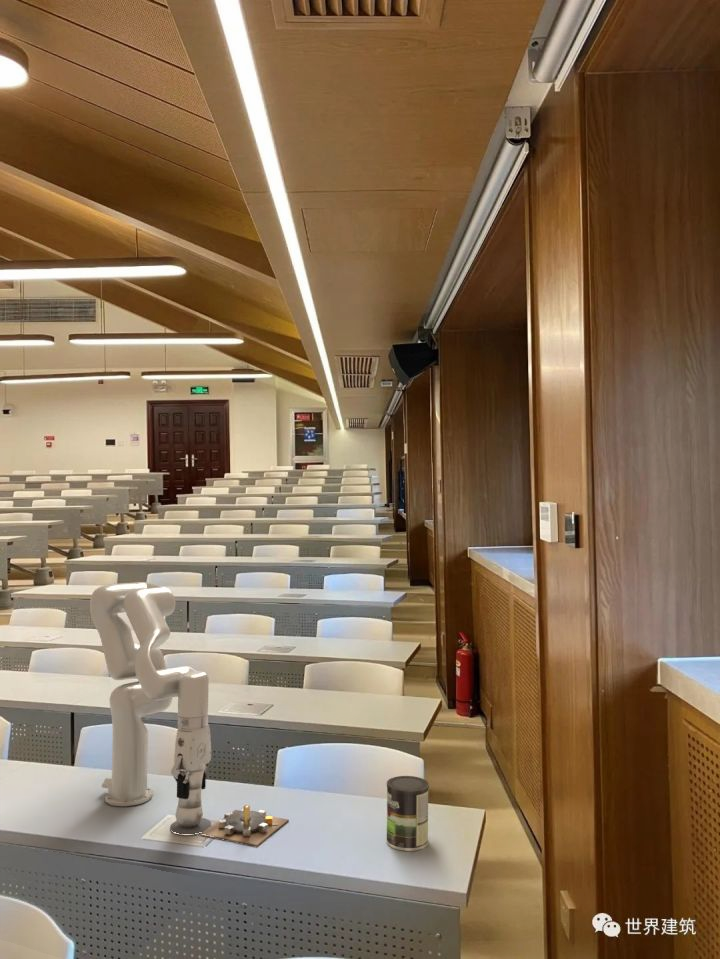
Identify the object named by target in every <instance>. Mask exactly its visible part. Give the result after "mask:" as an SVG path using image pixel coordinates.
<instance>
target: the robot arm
mask: <svg viewBox="0 0 720 959" xmlns="http://www.w3.org/2000/svg"><path fill="white" fill-rule="evenodd" d="M175 609H176V598H175V595H174V594H173V592H172V591H171V590H170V589H169V588H168V587H166V586H163V585H159V584H155V583H151V582H145V581H138V582H137V581H136V582H121V583H111V584H105V585H102V586H101V585H100V586H98V587H97V588H96V589H94V591H93V592H92V593H91V596H90V600H89V612H90V616H91V620H92V622H93V624H94V627H95V629H96V630H97V632H98V634H99V637H100V640H101V641H100V642H101V646H102V651H103V654H104V660H105V664H106V667H107V672H108V674H109V676H110V677H111V679H112V680H115V681H126V680H132V679H136V678H137V680H138V681H133V682H127V683H123V684H121V685H119V686H117V687H116V688H114V689H113V690H112V692H110V693H111V694H110V695H109V709H110V713H111V722H112V744H111V745H112V750H111V754H112V755H111V761H112V762H111V777H105V779H104V781H103V782H102V784H101V787H102V788H104V789H107V791H108V792H107V793H106V795H105V796H104V797H105V798H104V800H105V803H107V804H108V805H110V806H112V807H113V806H114V807H131V806H138V805H141V804H143V803H146V802H148V801H150V800H151V799H152V798H153V795H154V794H153V790H152V788H150V787H148V766H149V763H148V762H149V761H148V760H149V731H148V728H147V726H146V724H145V723H144V722H143V720H142V717H144V716H147V715H152V714H156V713H160V712H164V711H166V710H168V709H169V708H170V706H171V704H172V701H173V698H177V697H178V698H177V699H178V700H177V730H176V736H175V737H176V738H175V742H174V743H175V744H174V758H173V760H174V762H173V763H174V764H173V766H172V767H171V770H170V774H171V775H172V776H173V778H174V780H175V783H176V797H177V799H179V798H181V799H188V798H189V782H187V780H188V776H189V772H192V771H195V770H196V769H198V768H199V766H200V764H201V763H204V765H205V768H204V774H203V779H202V787H201V790H206V784H207V783H206V782H207V781H206V779H207V778H206V777H207V776H206V775H207V774H206V773H207V772H208V765H209V763H210V762H211V761H212V760H211V759H212V741H211V739H212V738H211V730H210V725H209V686H210V684H209V683H210V682H209V674H207V673H206V672H205V671H201V670H196V669H194V668H193V667H191V666H189V665H181V666H176V667H175V666H174V667H169V668H168V667H167V665H166V661H165V659H164V655H163V652H162V650H161V649H160V647H161V646H162V645H164V643H166V642H167V640H168V639H169V637H170V635H171V630H170V627H169V625H168V624H167V621H166V620H165V617H169V616H170V615H172V614H173V613H174V611H175ZM121 613H122V614H124V613H125V614H126V616H127V619H128V620H129V623H130V625H131V627H132V629H133V632H134V633H135V636H136V638H137V640H138V642H139V643H136V642H135V641H134V637H133V634H132V630H131V627H130V626H129V624H127V623H126V621H125V620H124V619H123V618H121V617H120V616H119V615H118V614H121ZM182 766H184V768H185V769H182ZM182 772H185V774H184V776H183V775H182Z"/></svg>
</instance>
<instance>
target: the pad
mask: <svg viewBox="0 0 720 959" xmlns="http://www.w3.org/2000/svg"><path fill="white" fill-rule="evenodd" d="M211 826H212V822H211V820H209V819H207V818H205V817H202V820H201V822H200V824H199V825H197V826H193V827H183V826H180V825H178V823H177V822H176V820H175V821H174V822H172V823H171V825H170V828H171V829H170V831H171V830H172V831H173V832H176V833H179V834H195V833H199V832H203V831H205V830H206V829H208V828H209V827H211Z"/></svg>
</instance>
